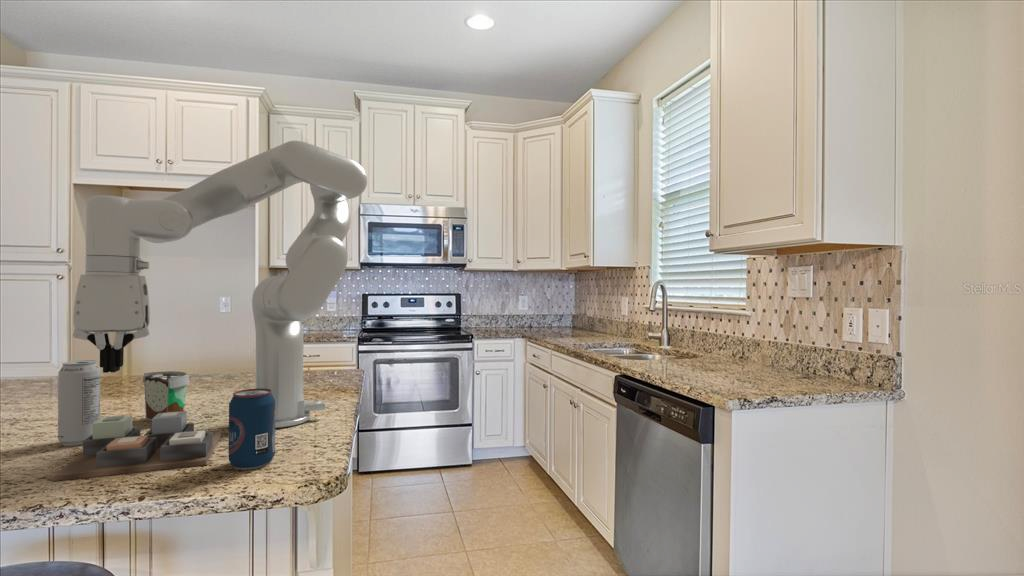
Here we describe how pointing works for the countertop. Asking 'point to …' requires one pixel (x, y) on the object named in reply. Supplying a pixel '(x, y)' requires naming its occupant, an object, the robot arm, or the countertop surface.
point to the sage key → (112, 427)
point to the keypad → (139, 455)
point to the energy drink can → (78, 401)
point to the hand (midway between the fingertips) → (111, 371)
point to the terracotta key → (127, 443)
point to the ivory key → (187, 437)
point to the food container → (164, 392)
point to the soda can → (251, 428)
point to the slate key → (169, 422)
